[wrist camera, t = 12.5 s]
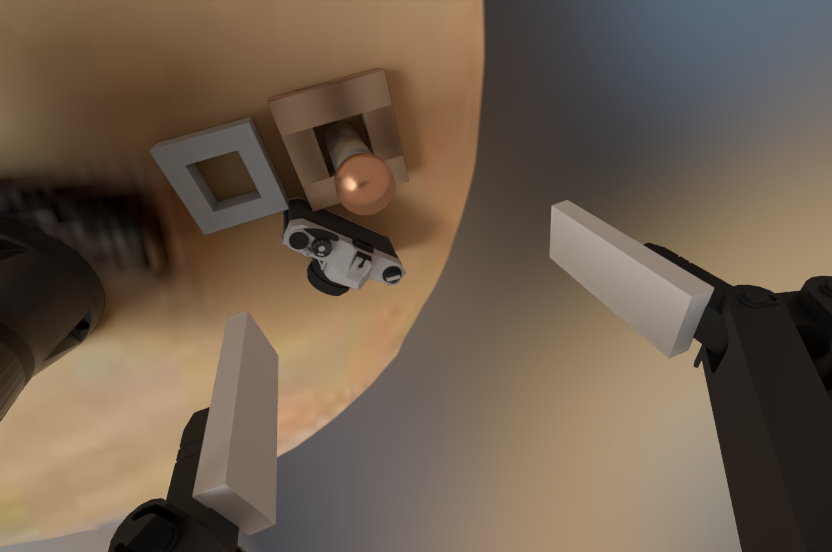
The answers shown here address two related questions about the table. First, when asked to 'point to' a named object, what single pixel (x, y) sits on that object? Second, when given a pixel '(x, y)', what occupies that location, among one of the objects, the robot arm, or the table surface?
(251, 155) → the plate
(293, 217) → the camera
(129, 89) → the table surface
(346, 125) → the lock pin
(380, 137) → the dock block
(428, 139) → the table surface
